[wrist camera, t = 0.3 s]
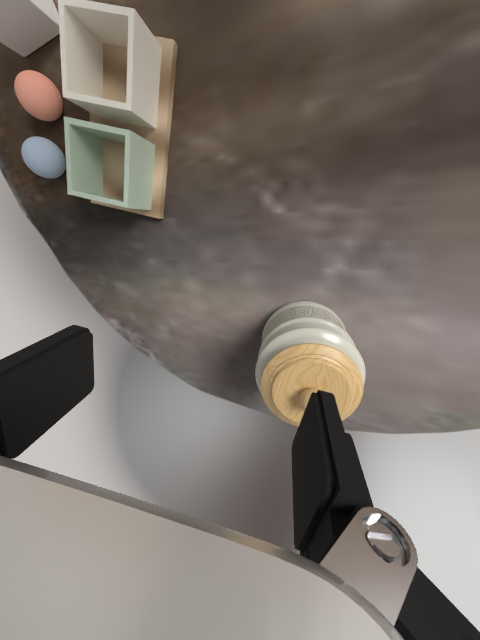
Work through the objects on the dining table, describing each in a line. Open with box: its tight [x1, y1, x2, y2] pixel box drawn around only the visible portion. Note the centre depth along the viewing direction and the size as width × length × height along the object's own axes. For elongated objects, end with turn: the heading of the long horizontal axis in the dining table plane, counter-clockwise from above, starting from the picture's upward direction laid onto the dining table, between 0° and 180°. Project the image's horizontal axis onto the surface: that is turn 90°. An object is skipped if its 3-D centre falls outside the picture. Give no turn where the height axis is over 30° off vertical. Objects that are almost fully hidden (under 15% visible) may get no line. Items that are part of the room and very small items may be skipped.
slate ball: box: [21, 136, 66, 179], centre depth 36 cm, size 5×5×5 cm
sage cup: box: [64, 116, 155, 210], centre depth 33 cm, size 8×8×6 cm
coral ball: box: [14, 70, 63, 121], centre depth 33 cm, size 5×5×5 cm
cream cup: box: [58, 0, 162, 129], centre depth 29 cm, size 8×8×6 cm
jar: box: [255, 301, 366, 426], centre depth 34 cm, size 13×13×18 cm
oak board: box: [89, 36, 178, 219], centre depth 35 cm, size 20×11×1 cm, turn 168°
